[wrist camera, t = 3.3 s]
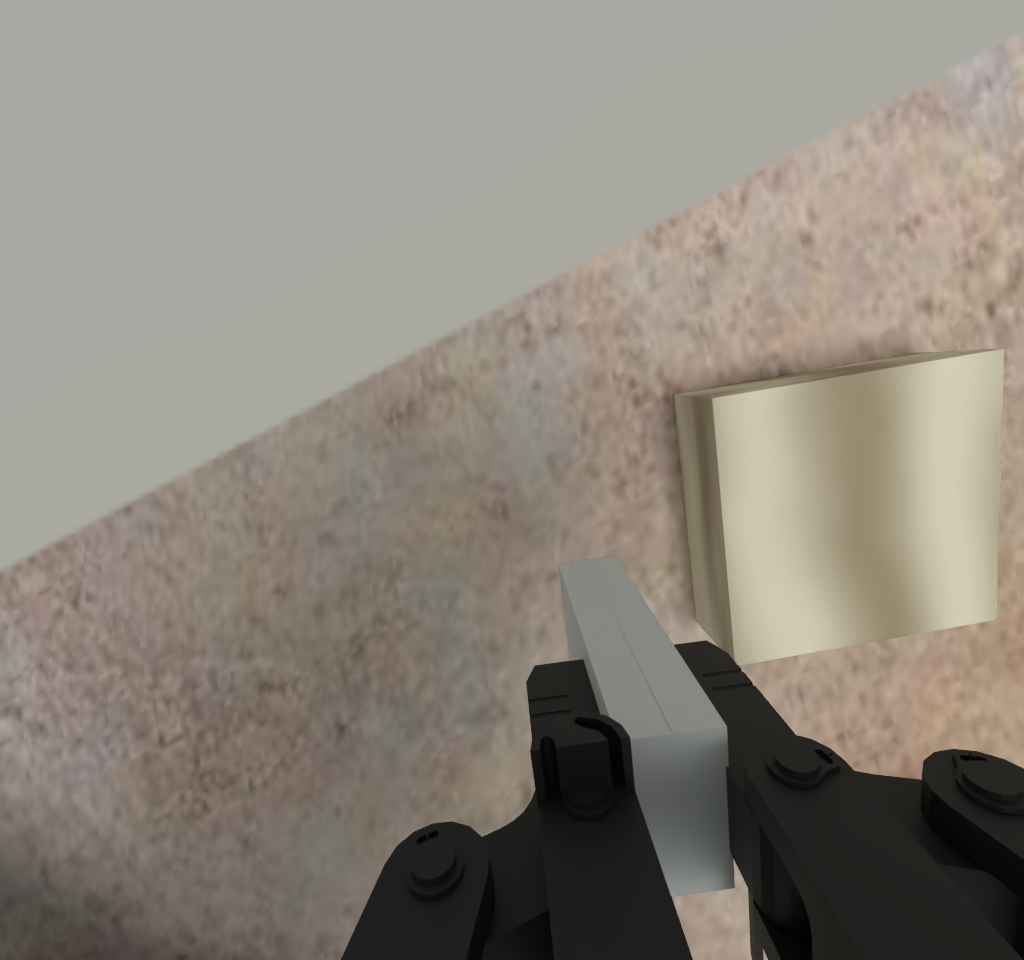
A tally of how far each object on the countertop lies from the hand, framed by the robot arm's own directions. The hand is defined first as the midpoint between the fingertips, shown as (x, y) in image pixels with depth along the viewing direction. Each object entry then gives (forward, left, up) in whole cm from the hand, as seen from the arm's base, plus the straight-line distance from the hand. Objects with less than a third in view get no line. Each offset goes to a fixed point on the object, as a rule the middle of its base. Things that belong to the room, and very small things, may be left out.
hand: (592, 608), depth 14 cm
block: (+11, 0, -9) cm, 14 cm away
